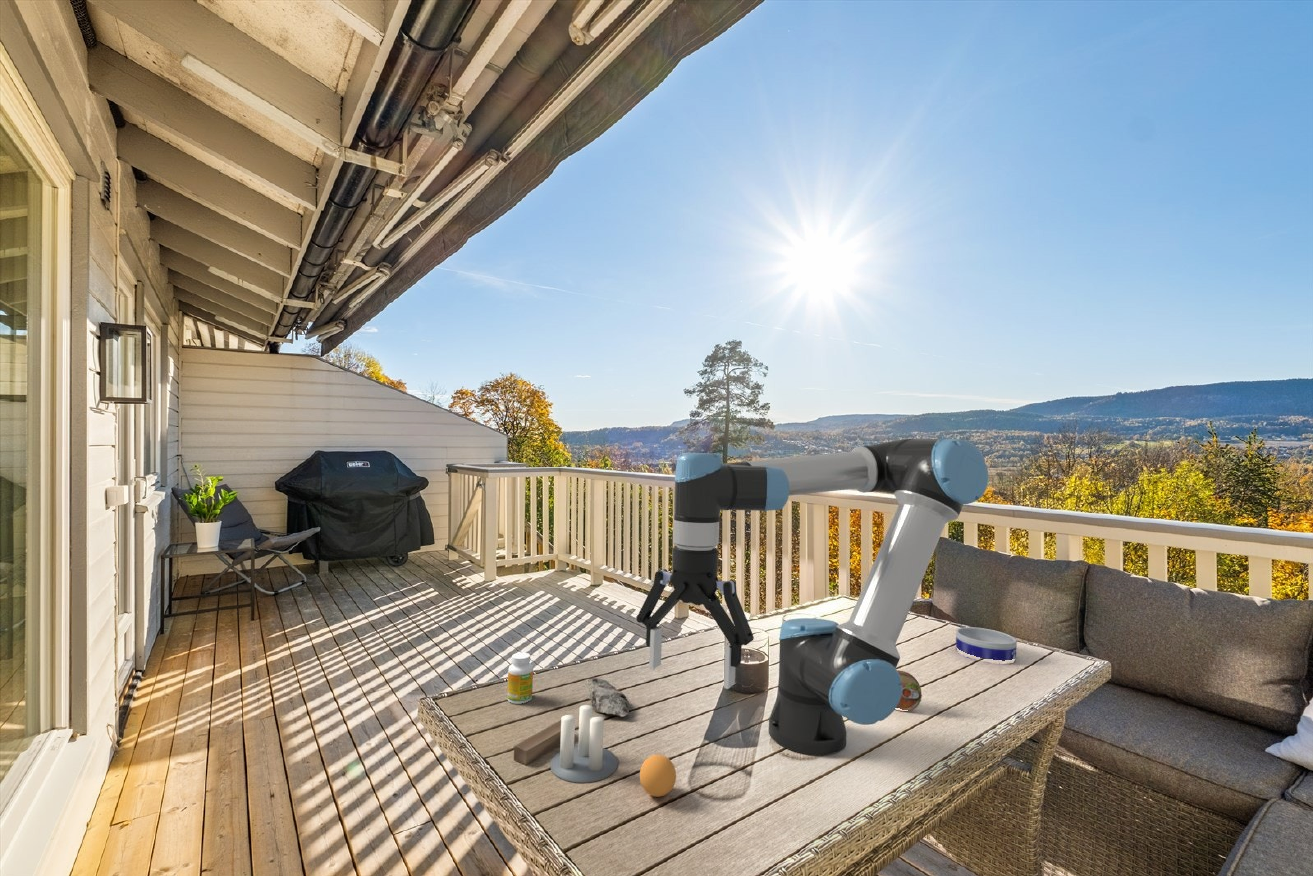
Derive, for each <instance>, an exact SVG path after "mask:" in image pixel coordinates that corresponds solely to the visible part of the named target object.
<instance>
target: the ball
mask: <svg viewBox="0 0 1313 876" xmlns="http://www.w3.org/2000/svg"><path fill="white" fill-rule="evenodd" d="M676 780H677V772H676V767H675V766H674V763H673V762H672V761H671V760H670V758H668V757H667V756H665V755H663V754H653V755H650V756H649V757H648V758H646V759H645V760H644V761H643V763H642V765H641V767H640V771H639V781H640V785H641V786H642V789H643V790H644V791H645V792H646V793H647V794H648V795H650V796H652V797H656V798H659V797H660V798H661V797H664V796H666V795H668V794H669V793H670V792H671V791H672V790H673V789H674V787H675V783H676Z"/></svg>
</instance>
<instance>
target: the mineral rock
mask: <svg viewBox="0 0 1313 876" xmlns="http://www.w3.org/2000/svg"><path fill="white" fill-rule="evenodd" d="M586 685H588V687H587V698H589V699H588V700H590V701H591V702H590V703H591V706H592V707H593V711H594V712H596V713H599V714H600V713H603V714H607V715H613V716H619V717H625V716H627V715H629V714H630V710H629V702H628V698H627V696H626V695H625V693H623V692H622V691H621V690H618V689H617V688H616V687H615V686H614V685H612V684H611V683H610V682H609V681H608V680H605V679H601V678H597V677H589V679H588V680H587V682H586Z"/></svg>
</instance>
